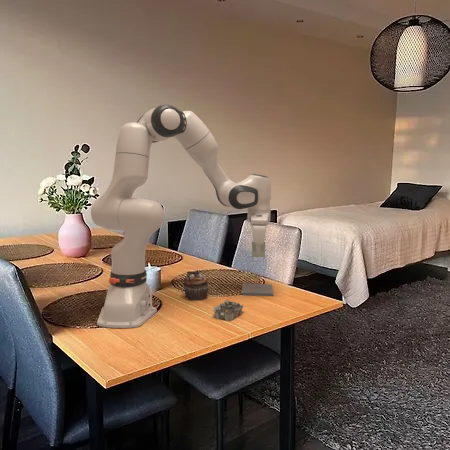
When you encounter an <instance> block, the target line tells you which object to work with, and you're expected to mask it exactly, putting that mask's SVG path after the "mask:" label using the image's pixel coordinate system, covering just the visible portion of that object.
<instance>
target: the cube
mask: <svg viewBox="0 0 450 450" xmlns="http://www.w3.org/2000/svg"><path fill="white" fill-rule="evenodd" d="M251 257H252V258H265V257H266V242H265V241H264V244H263V245H261V253H260V254H256V245H254V241H252V242H251Z"/></svg>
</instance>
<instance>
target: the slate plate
mask: <svg viewBox="0 0 450 450" xmlns="http://www.w3.org/2000/svg"><path fill="white" fill-rule="evenodd" d="M241 284H242V285H241V286H242V287H241V296H255V297H257V296H258V297H259V296H263V297H268V296H269V297H274V288H273V284H271V283H270V284H269V283H268V284H267V283H241Z"/></svg>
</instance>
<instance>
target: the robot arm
mask: <svg viewBox="0 0 450 450" xmlns="http://www.w3.org/2000/svg"><path fill="white" fill-rule="evenodd" d="M170 138H174V139H176V140H177V141H178V142H179V143H180V144H181V146H182V147H183V149H184V151H186V153H187V154H188V155H189V157H190V158H191V159H192V160H193V161H194V162H195V163H196V164H197V165H198V166H199V167H200V168H201V170H202V171H203V173H204V174H205V175H206V176H207V178H208V179H209V181H210V183H211V184H212V185H213V187H214V189H215V194H216V197H217V201H218V202H219V203H220V204H221V205H222V206H224V207H228V208H232V209H235V210H245V209H247V219H246V220H247V222H249V223H250V226H251V229H252V238H253V239H252V240H253V242H254V245H256V254H260V253H261V245H263V244H264V242H265V239H266V230H267V225H268V224H269V223H270V222H271V212H272V211H271V209H272V208H271V204H270V203H271V199H272V185H271V184H272V183H271V180H270V178H269V177H268V176H265V175H262V174H257V173H252V174H250V175H249V176H248V177H246V178H244V179H243V180H241V181H239V182H235V181H233V180H231V179H230V178H229V177H228V176H227V174H226V173H225V172H224V170H223V168H222V167H221V165H220V164H219V162H218V159H217V156H218V153H219V145H218V143H217V140H216V139H215V138H216V137H215V136H214V135H213V134H212V132H211V131H210V129H209V128H208V126H206V124H205V123H204V122H203V121H202V119H200V118H199V116H198V115H196V114H195V112H194V111H191V110H184V111H181V110H180V109H178V108H177V107H175V106H174V105H170V104H160V105H158V106H156V107H154V108H151V109H150V110H148V111H147V112H145V113H144V114H142V115H141V116H140V117H139V118H138V120H137V121H136V122H135V121H133V122H127V123H125V124H123V125H122V126H121V128H120V131H119V134H118V138H117V143H116V147H115V148H116V149H115V154H114V155H115V157H114V167H113V172H112V173H113V174H112V177H111V181H110V183H109V185H108V186H107V188H106V190H105V191H104V192H103V194H102V195H101V196H100V197H99V198H97V199H95V201H94V202H93V204H91V207H90V208H91V209H90V217H91V220H92V222H93V223H94V225H95V226H98V227H101V228H103V229H107V230H114V231H124V237H123V239H122V240H120V241H119V242H118V243H116V244H114V246H113V247H112V249H111V252H110V255H111V256H110V257H111V258H110V259H111V271H110V275H109V278H108V284H109V285H108V286H107V287H108V289H107V292H106V297H105V300H104V305H103V306H102V308H101V309H100V310H101V311H100V313H99V316H98V319H97V321H96V325H97V326H99V327H102V328H103V327H104V328H110V329H111V328H115V329H130V328H131V329H133V328H137V327H140V326H141V325H143V324H145V322H147V321H148V320H149V319H150V318H152V317H153V316H154V315H155V314H156V313H157V312H158V310H157V307H155V306H153V295H152V287H151V286H150V285H149V284H148V282H147V276H148V274H147V270H146V249H147V246H148V243H149V240H150V238H151V236H152V235H153V234H154V233H155V232H157V231H158V230H159V229H160V228H161V227H162V226H163V223H164V220H165V211H164V208H163V207H162V205H161V203H160V202H158V201H155V200H151V199H148V198H143V197H141V198H139V197H133V194H134V192H135V191H136V190H137V189H138V188H140V187H141V186H143V185H145V184H146V183H147V180H148V177H149V176H148V175H149V167H150V153H151V152H150V150H151V146H152V144H154V143H155V144H156V143H158V142H163V141H166V140H168V139H170Z"/></svg>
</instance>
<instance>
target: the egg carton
mask: <svg viewBox="0 0 450 450" xmlns="http://www.w3.org/2000/svg"><path fill="white" fill-rule="evenodd" d="M243 309H244V304H240V303H239V302H236V301H233V300H232V301H231V300H229V299H226V300H225V301H224V302H222V303H219V304H218V305H217V306H214V307H213V308H212V312H214V314H213V315H214V316H213V317H214V318H215V319H217V320H221V319H223V320H224V321H226V322H228V321H233V320H234V319H235V318H237V317H238V316H239V315H242V314H243Z"/></svg>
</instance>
